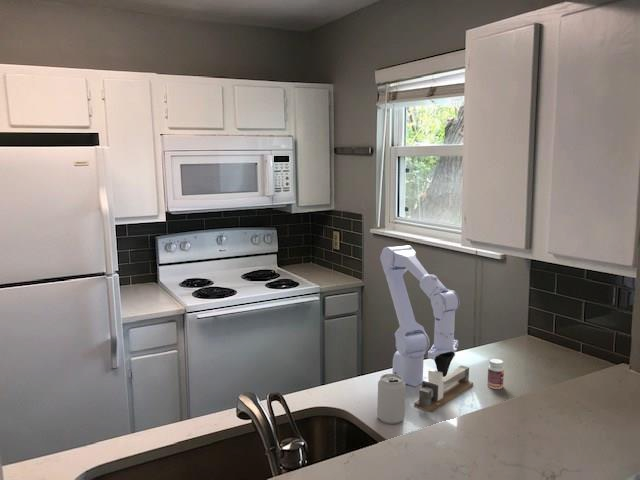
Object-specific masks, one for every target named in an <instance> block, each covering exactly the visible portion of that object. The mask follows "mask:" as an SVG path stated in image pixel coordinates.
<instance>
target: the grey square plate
mask: <svg viewBox="0 0 640 480" xmlns="http://www.w3.org/2000/svg"><path fill="white" fill-rule="evenodd" d="M426 386H429V387H432V388H434V397H432V398H431V401H434V402H437V401H438V385H436V384H433V383H429V382H426V381H422V383H421V389H422V388H424V387H426Z"/></svg>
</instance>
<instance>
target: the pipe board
mask: <svg viewBox="0 0 640 480" xmlns="http://www.w3.org/2000/svg"><path fill="white" fill-rule="evenodd" d="M469 378H470V367H468V366H465V365H459V366H457V368H454V370H451V371H450V372H447V375H446V376H445V377H443V378H442V382H444V384H443V398H442V399H440V400H439V401H437V402H434V401H431V398H432V397H433V396H434V388H432V387H429V386H426V387H424V388H422V387H421V388H420V389H419V391H418V392H419V395H418V400H416V401H414V403H413V406H414V407H416V406H417V407H416V408H419V409H422V410H424V411H428V412H430V413H433V412H435V411H436V410H438V409H440V408H441V407H442V406H444V405H446V404H447V403H448V402H450V401H452V400H453V399H454V398H456V397H458V396H460V395H461V394H462V393H464V392H465V391H467V390H468V389H469V388H471V387H473V385H474V382H473V381H471V380H469Z"/></svg>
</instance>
